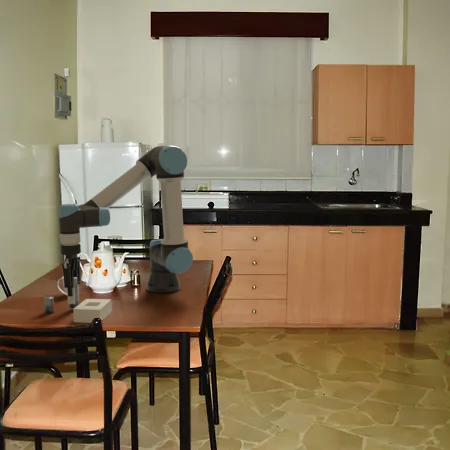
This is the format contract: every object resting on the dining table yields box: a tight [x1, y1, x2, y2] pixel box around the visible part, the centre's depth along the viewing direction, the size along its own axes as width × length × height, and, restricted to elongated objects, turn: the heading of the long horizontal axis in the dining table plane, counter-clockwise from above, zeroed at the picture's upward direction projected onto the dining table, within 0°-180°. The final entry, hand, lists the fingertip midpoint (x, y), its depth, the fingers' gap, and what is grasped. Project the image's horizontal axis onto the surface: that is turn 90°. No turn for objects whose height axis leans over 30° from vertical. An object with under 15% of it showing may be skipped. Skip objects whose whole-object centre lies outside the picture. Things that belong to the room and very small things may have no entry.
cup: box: [56, 275, 68, 297], centre depth 237 cm, size 7×10×8 cm
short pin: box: [43, 295, 55, 315], centre depth 210 cm, size 4×4×6 cm
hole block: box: [72, 298, 113, 324], centre depth 204 cm, size 10×14×5 cm
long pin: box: [68, 277, 80, 310], centre depth 213 cm, size 4×4×12 cm
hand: (73, 302), depth 213 cm, fingers closed on long pin, 3 cm apart
